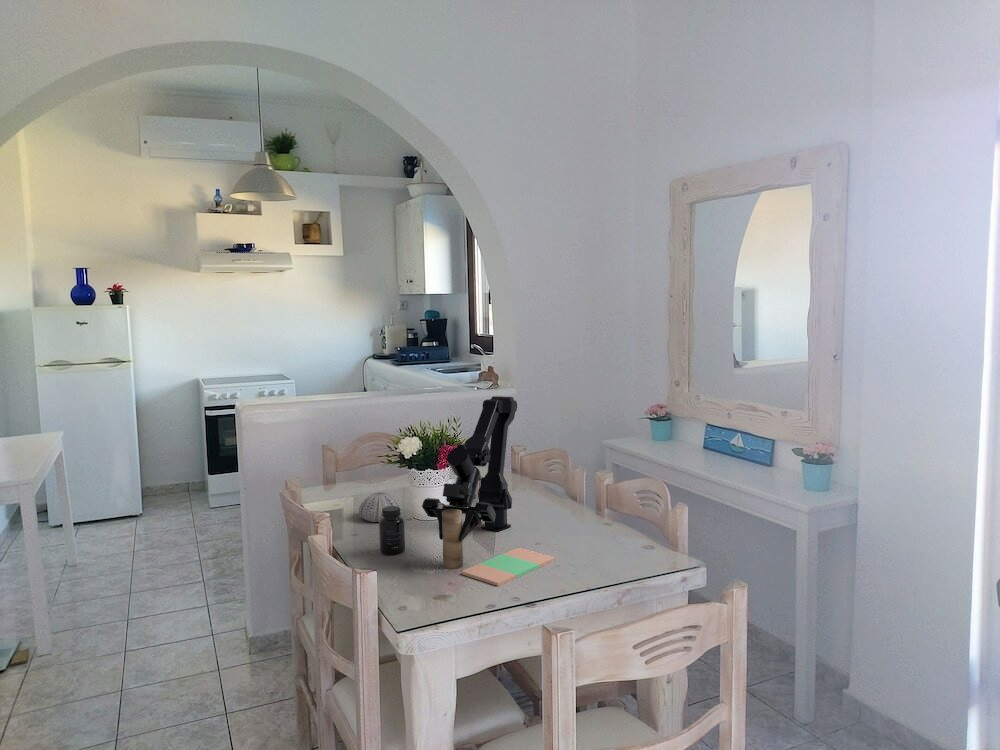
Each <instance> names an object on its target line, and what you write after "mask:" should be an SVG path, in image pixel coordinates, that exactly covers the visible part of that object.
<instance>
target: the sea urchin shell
mask: <svg viewBox="0 0 1000 750" xmlns="http://www.w3.org/2000/svg"><path fill="white" fill-rule="evenodd" d="M401 505H402V504H401V503H400V502H399V500H397V497H395V496H394V495H392V494H390V493H388V492H386V491H378V492H373V493H371V494H369V495H368V496H367V497H366V498H365V499H363V501H362V502H361V503H360V505H359V507H358V514H359V516H360V517H361V519H363V520H366V521H368V522H371V523H376V522H378V523H379V521H380V519H381V518H383V516H382V509H383V508H384V507H388V506H397V507H400V512H401V513H402V506H401Z"/></svg>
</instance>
